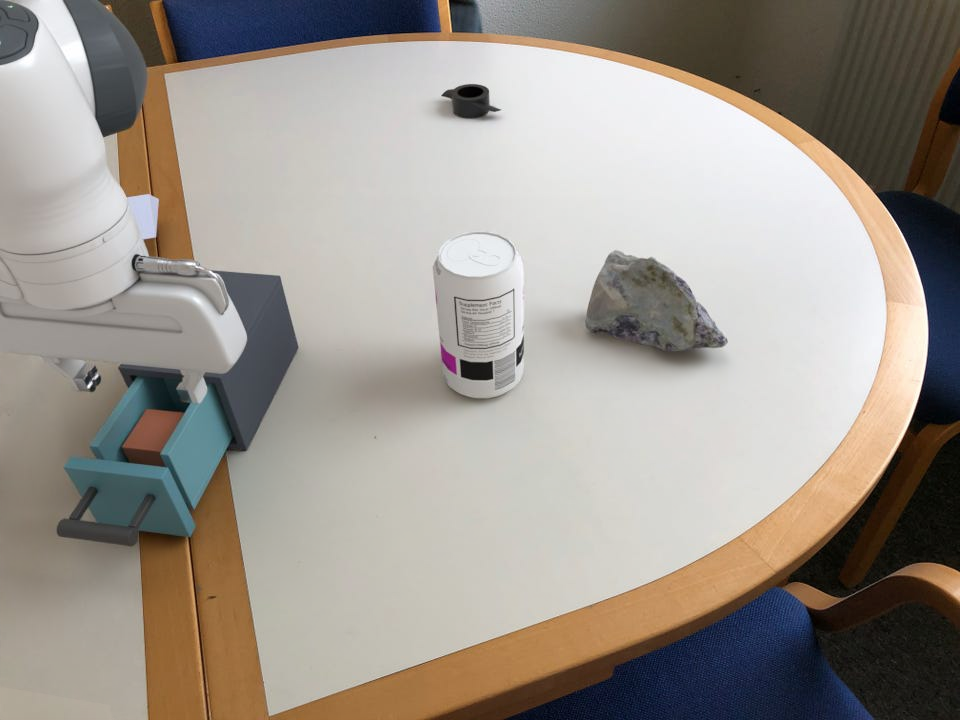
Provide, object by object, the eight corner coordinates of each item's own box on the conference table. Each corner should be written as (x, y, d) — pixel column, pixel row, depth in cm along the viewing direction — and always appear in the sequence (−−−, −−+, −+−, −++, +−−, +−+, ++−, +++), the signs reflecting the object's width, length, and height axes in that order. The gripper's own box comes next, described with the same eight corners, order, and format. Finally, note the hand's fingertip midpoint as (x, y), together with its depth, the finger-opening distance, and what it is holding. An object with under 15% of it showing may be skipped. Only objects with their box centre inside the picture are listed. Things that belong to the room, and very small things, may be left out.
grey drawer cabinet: (247, 451, 74) (220, 377, 68) (152, 440, 76) (117, 367, 69) (299, 347, 85) (280, 275, 78) (215, 339, 86) (189, 268, 80)
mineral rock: (729, 359, 81) (748, 280, 74) (643, 396, 78) (655, 317, 71) (653, 291, 90) (664, 215, 83) (572, 322, 86) (576, 245, 79)
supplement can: (427, 383, 80) (413, 262, 70) (473, 337, 85) (466, 218, 75) (494, 414, 77) (490, 292, 66) (538, 364, 81) (540, 243, 71)
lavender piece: (166, 221, 104) (62, 238, 102) (150, 175, 99) (41, 192, 97) (164, 260, 98) (53, 279, 95) (147, 213, 93) (29, 232, 91)
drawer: (166, 585, 63) (133, 527, 58) (70, 571, 64) (29, 514, 59) (251, 419, 76) (230, 360, 71) (170, 411, 77) (144, 352, 72)
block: (186, 486, 69) (170, 452, 66) (138, 480, 70) (121, 446, 67) (208, 447, 72) (194, 413, 69) (162, 442, 73) (146, 408, 70)
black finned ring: (486, 93, 129) (485, 75, 127) (503, 119, 122) (503, 101, 120) (440, 100, 127) (438, 82, 125) (455, 127, 120) (454, 109, 118)
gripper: (234, 236, 56) (276, 376, 65) (-24, 218, 59) (52, 355, 68) (196, 291, 51) (246, 433, 61) (-81, 269, 55) (8, 407, 64)
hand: (141, 391), depth 65 cm, fingers open, 8 cm apart
